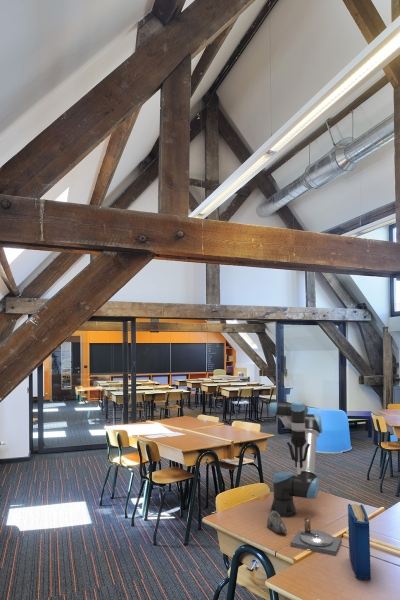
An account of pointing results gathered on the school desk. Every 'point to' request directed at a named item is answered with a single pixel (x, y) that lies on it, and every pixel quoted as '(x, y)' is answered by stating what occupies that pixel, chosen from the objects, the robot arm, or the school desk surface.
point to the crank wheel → (315, 536)
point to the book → (359, 541)
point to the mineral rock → (276, 522)
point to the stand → (329, 549)
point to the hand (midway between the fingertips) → (299, 473)
